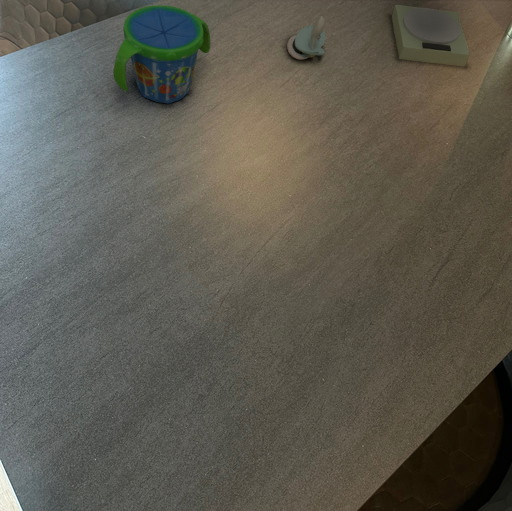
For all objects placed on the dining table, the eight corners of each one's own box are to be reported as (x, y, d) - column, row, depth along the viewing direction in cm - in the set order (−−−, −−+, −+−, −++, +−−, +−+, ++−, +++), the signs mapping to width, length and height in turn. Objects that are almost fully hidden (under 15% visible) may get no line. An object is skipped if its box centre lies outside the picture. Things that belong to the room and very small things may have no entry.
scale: (452, 24, 110) (458, 9, 108) (464, 66, 103) (471, 51, 100) (391, 16, 109) (396, 1, 107) (398, 59, 102) (404, 44, 100)
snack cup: (187, 52, 97) (189, -9, 89) (228, 91, 92) (234, 30, 84) (97, 85, 90) (90, 22, 82) (137, 129, 86) (134, 67, 77)
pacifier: (284, 62, 98) (322, 67, 98) (289, 26, 93) (329, 31, 93) (288, 34, 103) (324, 39, 103) (293, -1, 98) (331, 4, 98)
